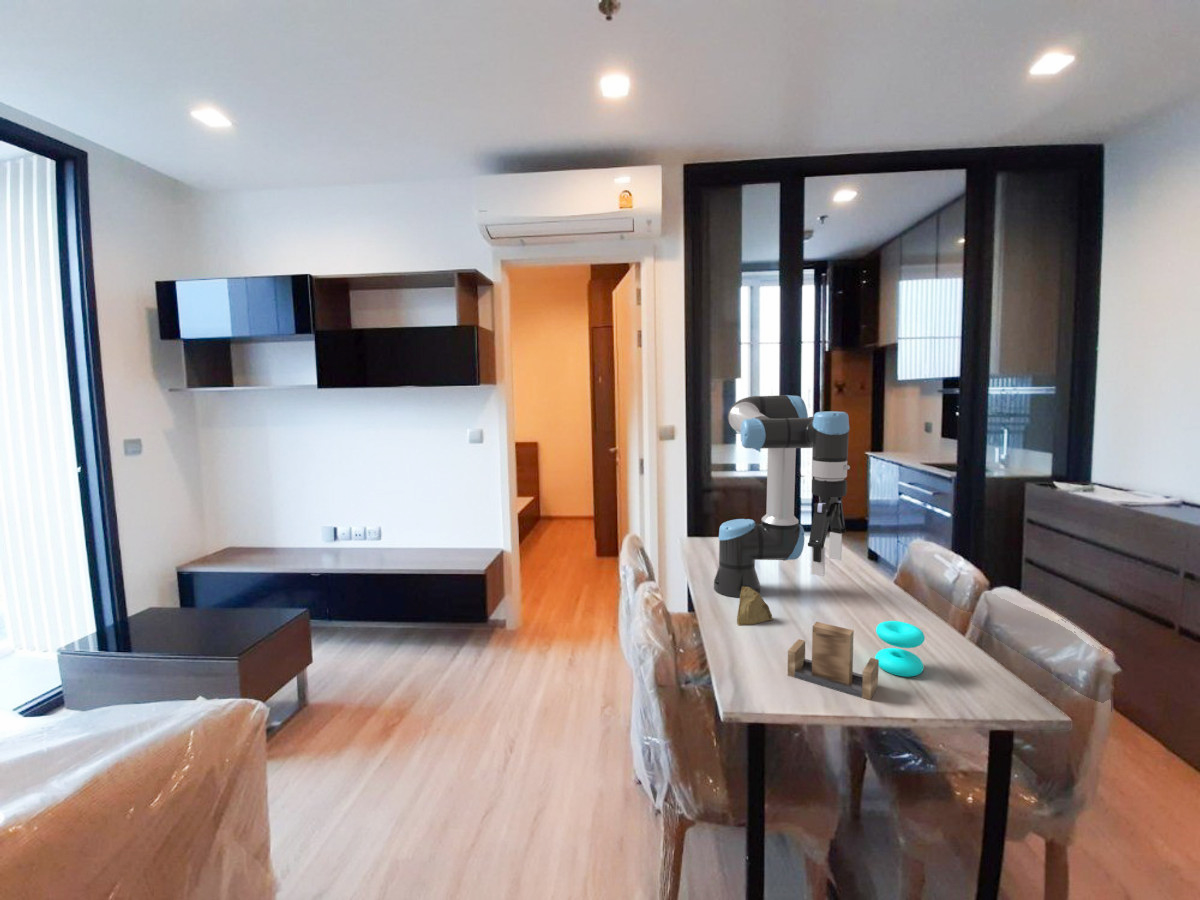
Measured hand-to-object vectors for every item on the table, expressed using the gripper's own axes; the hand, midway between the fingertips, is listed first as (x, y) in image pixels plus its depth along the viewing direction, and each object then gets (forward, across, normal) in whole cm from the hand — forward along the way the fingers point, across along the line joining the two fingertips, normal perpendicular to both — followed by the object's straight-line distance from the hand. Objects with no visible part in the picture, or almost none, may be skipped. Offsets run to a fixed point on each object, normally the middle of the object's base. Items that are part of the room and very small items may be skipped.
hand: (826, 566), depth 128 cm
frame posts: (+24, -7, -4) cm, 25 cm away
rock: (+25, +14, +23) cm, 37 cm away
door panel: (+24, -7, -4) cm, 25 cm away
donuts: (+24, +8, -15) cm, 30 cm away
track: (+24, -7, -4) cm, 25 cm away
